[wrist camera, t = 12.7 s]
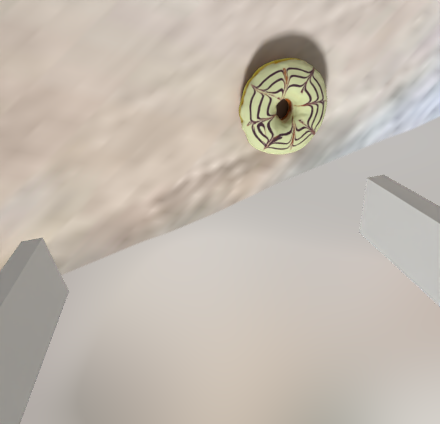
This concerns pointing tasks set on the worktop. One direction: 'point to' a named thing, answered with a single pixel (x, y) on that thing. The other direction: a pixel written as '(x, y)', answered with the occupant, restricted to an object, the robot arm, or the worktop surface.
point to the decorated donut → (297, 100)
